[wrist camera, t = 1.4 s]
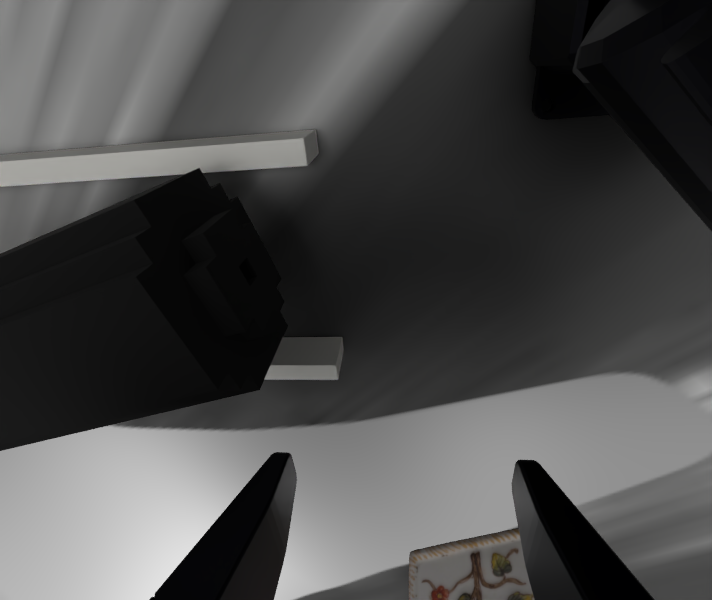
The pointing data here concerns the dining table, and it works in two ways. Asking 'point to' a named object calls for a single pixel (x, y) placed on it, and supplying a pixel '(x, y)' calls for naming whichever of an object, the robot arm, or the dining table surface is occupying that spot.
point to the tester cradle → (181, 157)
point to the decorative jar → (471, 570)
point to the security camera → (135, 313)
